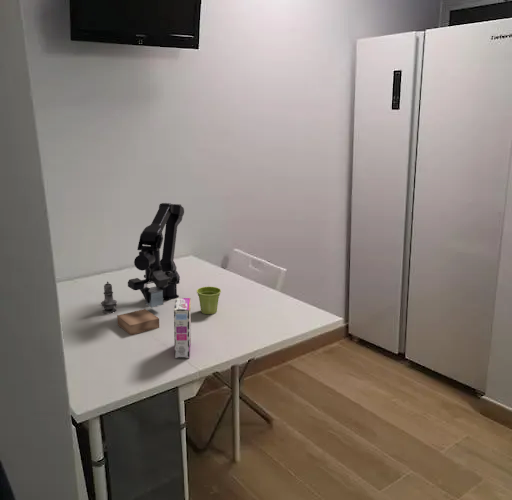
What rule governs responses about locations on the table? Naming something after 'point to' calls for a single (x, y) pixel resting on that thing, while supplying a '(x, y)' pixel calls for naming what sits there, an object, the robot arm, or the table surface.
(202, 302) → the plant pot
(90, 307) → the table surface
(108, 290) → the dark grey tall piece
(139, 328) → the walnut block
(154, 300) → the slate tin
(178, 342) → the candy bar box
